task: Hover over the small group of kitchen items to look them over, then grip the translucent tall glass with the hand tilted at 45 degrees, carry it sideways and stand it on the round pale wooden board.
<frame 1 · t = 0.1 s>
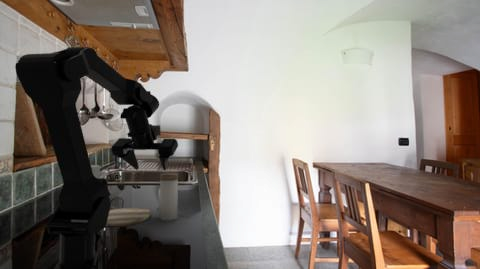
hand: (151, 169, 81), 15 cm above the counter, tool tilted 35°, fingers open, 9 cm apart
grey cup: (167, 208, 90), on the counter
translucent tall glass: (168, 218, 79), on the counter
wooden board: (123, 218, 78), on the counter
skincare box: (82, 212, 85), on the counter
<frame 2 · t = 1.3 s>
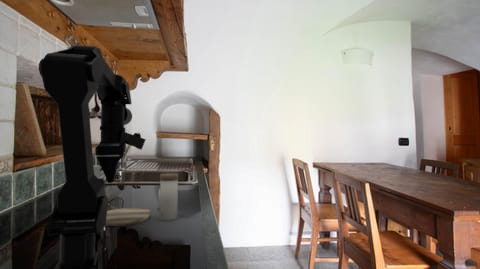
hand: (111, 180, 70), 13 cm above the counter, tool pointing down, fingers open, 9 cm apart
nothing on the counter moved.
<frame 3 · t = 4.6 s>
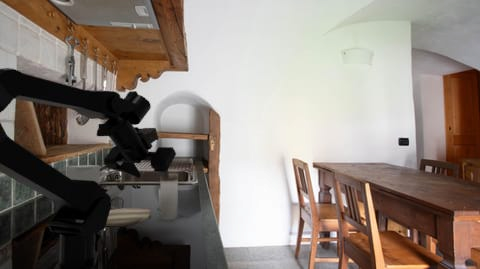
hand: (153, 177, 72), 13 cm above the counter, tool tilted 45°, fingers open, 9 cm apart
nothing on the counter moved.
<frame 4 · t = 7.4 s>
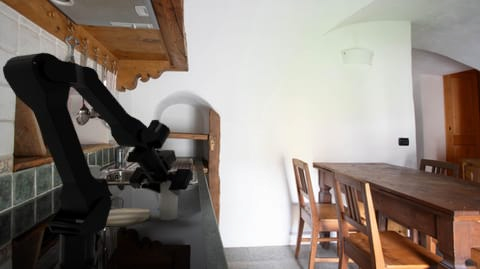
hand: (171, 194, 80), 7 cm above the counter, tool tilted 45°, fingers closed on translucent tall glass, 5 cm apart
translucent tall glass: (168, 217, 79), on the counter, touching gripper
everything else where it was.
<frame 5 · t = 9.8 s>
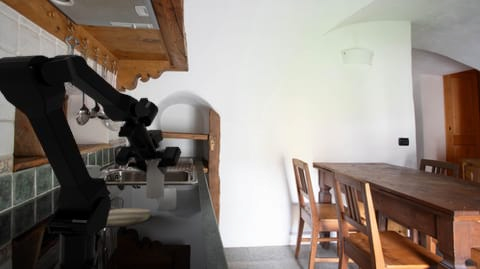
hand: (157, 173, 81), 13 cm above the counter, tool tilted 45°, fingers closed on translucent tall glass, 5 cm apart
translucent tall glass: (155, 196, 80), point 6 cm above the counter, touching gripper
everything else where it was.
when the fingers open (9 cm above the counter, at t = 12.2 s): translucent tall glass stays where it is, resting on wooden board.
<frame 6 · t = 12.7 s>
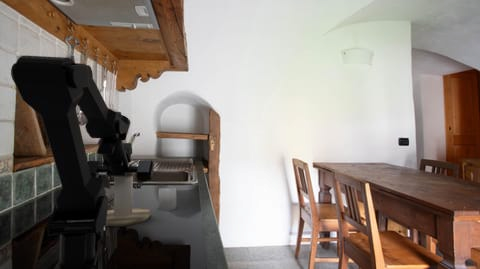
hand: (125, 187, 80), 9 cm above the counter, tool tilted 45°, fingers open, 9 cm apart
translucent tall glass: (123, 214, 78), point 1 cm above the counter, touching wooden board
everything else where it was.
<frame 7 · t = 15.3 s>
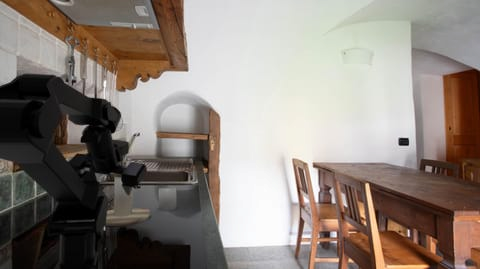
hand: (112, 191, 70), 10 cm above the counter, tool tilted 40°, fingers open, 9 cm apart
nothing on the counter moved.
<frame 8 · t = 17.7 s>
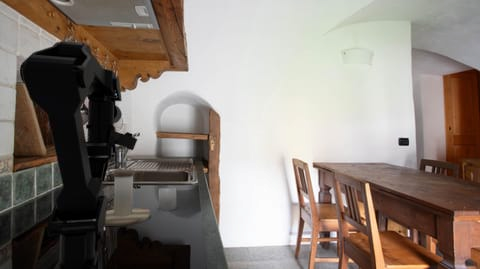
hand: (99, 183, 63), 13 cm above the counter, tool pointing down, fingers open, 9 cm apart
nothing on the counter moved.
at the end: translucent tall glass inside the target area on the wooden board (0.1 cm from its centre), point 1.2 cm above the wooden board's base; translucent tall glass tilted 0°; the gripper is holding nothing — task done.
